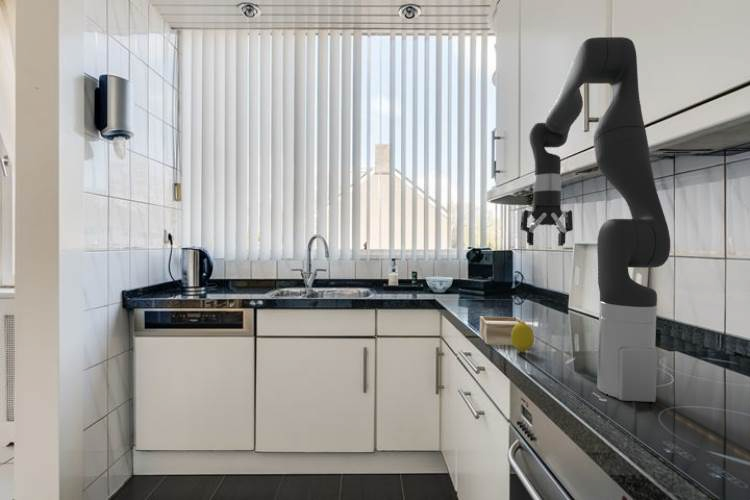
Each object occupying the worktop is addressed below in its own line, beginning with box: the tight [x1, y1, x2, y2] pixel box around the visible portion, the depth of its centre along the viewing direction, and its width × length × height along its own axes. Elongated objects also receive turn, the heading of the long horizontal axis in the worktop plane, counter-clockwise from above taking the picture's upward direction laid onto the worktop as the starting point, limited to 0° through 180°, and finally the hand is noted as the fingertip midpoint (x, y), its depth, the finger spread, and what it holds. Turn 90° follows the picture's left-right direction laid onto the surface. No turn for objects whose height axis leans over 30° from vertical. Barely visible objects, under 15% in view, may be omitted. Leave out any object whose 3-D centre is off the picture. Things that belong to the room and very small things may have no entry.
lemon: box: [511, 321, 535, 353], centre depth 104 cm, size 6×6×8 cm
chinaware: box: [425, 276, 454, 293], centre depth 225 cm, size 15×15×8 cm
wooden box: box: [479, 315, 527, 346], centre depth 117 cm, size 11×11×6 cm
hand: (545, 245), depth 119 cm, fingers open, 8 cm apart
